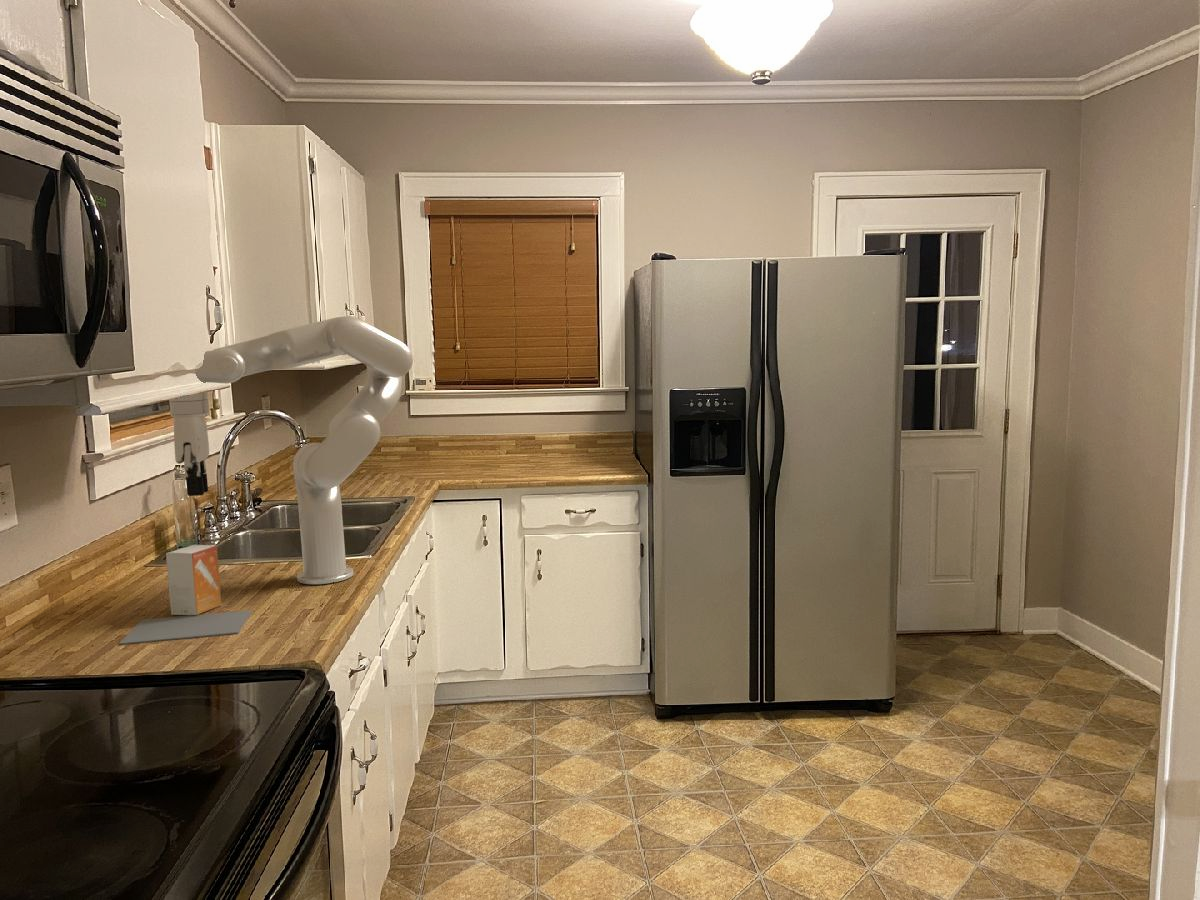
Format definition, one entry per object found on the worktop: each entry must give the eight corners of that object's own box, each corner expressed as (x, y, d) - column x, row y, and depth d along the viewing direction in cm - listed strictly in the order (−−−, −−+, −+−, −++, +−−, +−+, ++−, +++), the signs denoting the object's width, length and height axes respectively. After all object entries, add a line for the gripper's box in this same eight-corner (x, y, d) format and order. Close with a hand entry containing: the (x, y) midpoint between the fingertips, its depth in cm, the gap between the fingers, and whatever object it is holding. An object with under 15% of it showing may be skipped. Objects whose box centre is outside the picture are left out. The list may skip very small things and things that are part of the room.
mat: (142, 621, 178) (141, 619, 178) (251, 611, 182) (251, 609, 182) (119, 644, 164) (118, 643, 164) (238, 633, 169) (238, 632, 168)
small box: (197, 616, 179) (191, 553, 178) (170, 615, 181) (164, 552, 179) (222, 605, 187) (217, 544, 186) (196, 604, 188) (191, 544, 187)
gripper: (181, 406, 195) (189, 488, 198) (159, 413, 179) (169, 502, 182) (217, 405, 197) (224, 486, 199) (199, 411, 181) (207, 499, 183)
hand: (198, 493), depth 190 cm, fingers open, 3 cm apart
